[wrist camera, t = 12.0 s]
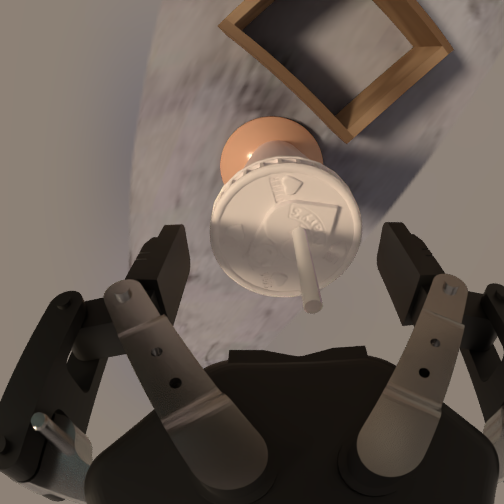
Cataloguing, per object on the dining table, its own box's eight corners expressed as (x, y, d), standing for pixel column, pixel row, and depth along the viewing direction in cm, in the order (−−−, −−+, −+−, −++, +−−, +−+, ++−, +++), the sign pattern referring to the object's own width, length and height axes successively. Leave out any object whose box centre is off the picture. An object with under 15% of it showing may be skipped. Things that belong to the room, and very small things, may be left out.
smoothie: (340, 176, 21) (425, 321, 9) (267, 225, 23) (272, 395, 11) (286, 101, 18) (335, 163, 7) (209, 159, 21) (142, 298, 9)
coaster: (270, 95, 19) (270, 95, 18) (341, 165, 21) (343, 167, 21) (200, 168, 21) (199, 170, 21) (272, 227, 24) (272, 231, 24)
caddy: (326, -50, 12) (340, -71, 9) (424, 49, 16) (453, 49, 12) (225, 34, 16) (217, 26, 13) (331, 130, 20) (346, 144, 16)
